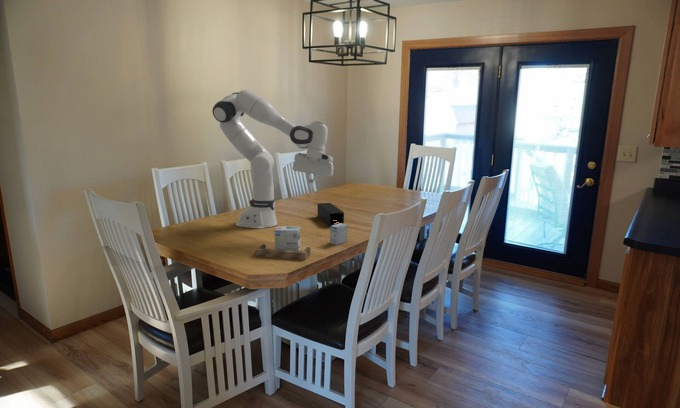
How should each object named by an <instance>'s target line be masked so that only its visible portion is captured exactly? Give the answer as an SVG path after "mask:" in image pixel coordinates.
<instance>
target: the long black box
mask: <svg viewBox="0 0 680 408" xmlns="http://www.w3.org/2000/svg"><path fill="white" fill-rule="evenodd" d="M317 217H318V218H319V219H320V220H321V221H322V222H323V223H325V224H326V225H327V226H328V227H330V226H332V225H335V224H334V223H336V222H339V223H343V224H345V212H344V211H343V210H342V209H340V208H338V207H337V206H336V205H334V204H333V203H331V202H321V203H317ZM333 220H337V221H333ZM337 224H338V223H337Z"/></svg>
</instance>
